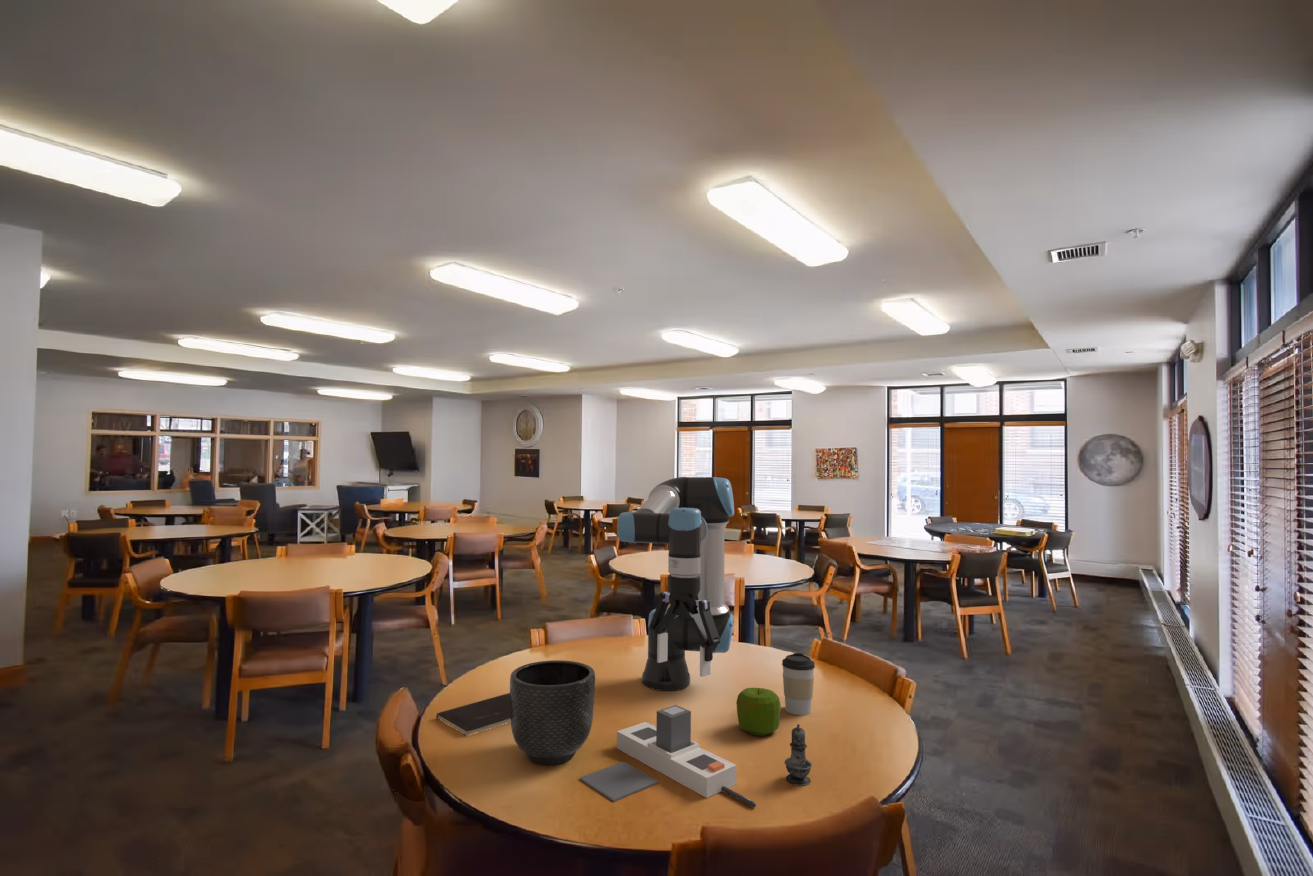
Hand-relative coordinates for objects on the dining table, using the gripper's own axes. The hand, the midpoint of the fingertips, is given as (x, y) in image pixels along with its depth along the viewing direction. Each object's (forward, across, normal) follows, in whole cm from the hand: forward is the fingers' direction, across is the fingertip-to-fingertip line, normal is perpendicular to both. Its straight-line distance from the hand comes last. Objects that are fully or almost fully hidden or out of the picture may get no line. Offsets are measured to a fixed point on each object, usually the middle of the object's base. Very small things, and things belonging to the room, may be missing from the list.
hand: (682, 668), depth 147 cm
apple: (+21, 0, +28) cm, 35 cm away
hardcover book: (+22, -54, -18) cm, 61 cm away
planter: (+22, -23, -20) cm, 37 cm away
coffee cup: (+21, 0, +47) cm, 52 cm away
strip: (+21, +4, -2) cm, 22 cm away
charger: (+17, -1, -2) cm, 17 cm away
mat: (+21, -3, -16) cm, 27 cm away
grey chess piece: (+22, +22, +13) cm, 34 cm away
